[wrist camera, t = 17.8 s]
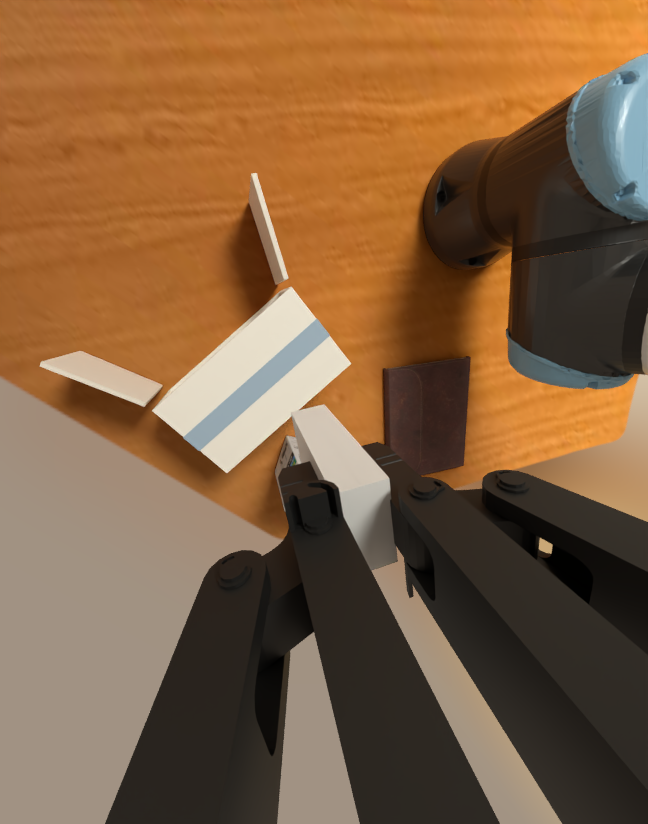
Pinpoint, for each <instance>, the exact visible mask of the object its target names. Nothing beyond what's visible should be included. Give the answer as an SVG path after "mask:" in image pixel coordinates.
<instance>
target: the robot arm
mask: <svg viewBox="0 0 648 824" xmlns="http://www.w3.org/2000/svg"><path fill="white" fill-rule="evenodd" d="M423 220H424V228H425V233H426V236H427V239H428V242H429V244H430V246H431V248H432V250H433V251H434V253H435V254H436V255H437V257H438V258H439V259H440V260H441V261H443V262H444V263H445V264H447V265H448V266H450V267H453V268H456V269H461V270H470V269H476V268H482V267H485V266H488V265H490V264H493V263H495V262H496V261H498V260H499V259H501V258H502V257H504V256H505V255H507V254H508V253H510V252H511V251H512V261H511V277H510V295H509V314H508V328H507V329H506V336H507V339H508V359H509V362H510V364H511V366H512V367H513V368H514V369H515V370H516V371H517V372H519V373H520V374H522V375H523V376H525V377H528V378H530V379H533V380H535V381H538V382H542V383H546V384H550V385H555V386H560V387H567V388H575V389H584V388H586V387H589V388H593V389H609V388H614V387H618V386H621V385H623V384H625V383H627V382H628V381H629V379H630V378H632V377H633V375H634V374H646V375H648V240H647V239H648V53H647V54H644V55H641V56H639V57H637V58H634V59H632V60H630V61H629V62H627V63H625V64H623V65H622V66H620V67H618V68H617V69H615V70H613V71H611V72H610V73H608V74H606V75H602V76H599V77H597V78H595V79H593V80H591V81H589V82H588V83H587V84H585V85H584V86H582V87H581V88H580V89H579V90H578V91H577V92H575V93H574V94H572V95H571V96H569V97H568V98H566V99H564V100H563V101H561V102H560V103H558V104H557V105H555V106H554V107H552V108H551V109H549V110H547V111H546V112H544V113H543V114H541V115H540V116H538V117H537V118H535V119H534V120H532V121H530V122H529V123H527V124H526V125H524V126H523V127H521V128H520V129H518V130H517V131H515V132H514V133H512V134H510V135H509V136H507V137H500V138H492V139H485V140H479V141H475V142H472V143H470V144H467V145H465V146H464V147H462V148H460V149H459V150H458V151H456V152H455V153H453V154H452V155H451V156H449V157H448V158H447V159H446V160H445V161H444V162H443V163H442V164H441V165H440V166H439V168H438V169H437V170H436V172H435V174H434V175H433V177H432V179H431V181H430V184H429V186H428V189H427V192H426V196H425V201H424V209H423ZM604 246H605V247H604ZM598 247H599V248H598ZM591 248H592V249H591ZM585 249H586V250H585ZM578 250H580V251H578ZM573 251H574V252H573ZM566 252H568V253H566ZM560 253H562V254H560ZM554 254H556V255H554ZM548 255H550V256H548ZM541 256H544V257H541ZM536 257H538V258H536ZM529 258H532V259H529ZM524 259H525V260H524ZM291 415H292V420H293V425H294V430H295V435H296V439H297V444H298V449H299V454H300V459H301V464H297V465H293V466H290V467H286V468H282V470H281V472H280V474H279V476H278V480H279V485H280V489H281V493H282V497H283V502H284V507H285V511H286V516H287V520H288V524H289V530H288V533H287V535H286V537H285V539H284V540H283V541H282V542H281V544H279V545H278V546H277V547H276V548H275V549H273V550H272V551H270V552H269V553H267V554H265V555H264V556H261V554H259V553H257V552H254V551H247V550H241V551H238V552H234V553H231V554H229V555H227V556H225V557H223V558H222V559H220V560H219V561H217V562H216V563H215V564H214V565H213V566H212V567H211V568H210V569H209V571H208V573H207V574H206V576H205V577H204V579H203V582H202V584H201V587H200V589H199V592H198V594H197V597H196V599H195V602H194V604H193V606H192V609H191V611H190V614H189V616H188V619H187V621H186V624H185V627H184V629H183V631H182V634H181V637H180V639H179V641H178V644H177V646H176V649H175V651H174V654H173V656H172V659H171V661H170V664H169V666H168V669H167V671H166V674H165V676H164V679H163V681H162V684H161V686H160V688H159V691H158V693H157V696H156V698H155V701H154V703H153V706H152V708H151V711H150V713H149V716H148V718H147V721H146V723H145V726H144V728H143V731H142V733H141V736H140V738H139V741H138V743H137V746H136V748H135V751H134V753H133V756H132V758H131V761H130V763H129V766H128V768H127V771H126V773H125V776H124V778H123V781H122V783H121V786H120V788H119V790H118V793H117V795H116V798H115V801H114V803H113V806H112V808H111V810H110V813H109V815H108V818H107V820H106V823H105V824H277V817H278V804H279V792H280V791H279V789H280V779H281V766H282V753H283V740H284V727H285V714H286V702H287V689H288V677H289V663H290V650H291V649H292V648H293V647H295V646H296V645H297V644H299V643H300V642H301V641H302V640H304V639H305V638H306V637H307V636H309V635H310V634H311V633H313V632H314V633H315V637H316V641H317V646H318V649H319V654H320V658H321V662H322V666H323V671H324V675H325V679H326V683H327V688H328V692H329V696H330V700H331V704H332V709H333V713H334V717H335V721H336V725H337V729H338V733H339V738H340V742H341V746H342V750H343V754H344V759H345V763H346V767H347V772H348V776H349V780H350V784H351V788H352V793H353V797H354V801H355V805H356V809H357V813H358V818H359V822H360V824H500V823H499V821H498V819H497V817H496V815H495V813H494V811H493V809H492V807H491V806H490V803H489V801H488V800H487V797H486V796H485V794H484V792H483V790H482V788H481V786H480V784H479V782H478V780H477V778H476V776H475V774H474V772H473V770H472V768H471V766H470V764H469V762H468V760H467V758H466V756H465V754H464V752H463V750H462V748H461V746H460V744H459V742H458V741H457V739H456V737H455V735H454V733H453V731H452V729H451V727H450V725H449V723H448V721H447V719H446V717H445V715H444V713H443V711H442V709H441V707H440V705H439V703H438V701H437V699H436V697H435V695H434V693H433V692H432V689H431V687H430V685H429V684H428V682H427V680H426V678H425V676H424V674H423V672H422V670H421V668H420V666H419V664H418V662H417V660H416V658H415V656H414V654H413V652H412V650H411V648H410V646H409V644H408V642H407V640H406V638H405V637H404V634H403V632H402V630H401V629H400V627H399V625H398V623H397V621H396V619H395V617H394V615H393V613H392V611H391V609H390V607H389V605H388V603H387V601H386V599H385V597H384V595H383V593H382V591H381V589H380V587H379V585H378V584H377V581H376V579H375V577H374V575H373V574H372V572H371V570H374V569H377V568H380V567H383V566H386V565H389V564H391V563H395V562H397V561H398V560H397V550H396V546H397V548H398V549H399V551H400V552H401V554H402V555H403V557H404V562H405V574H406V585H407V592H408V595H409V597H410V598H411V597H413V587H412V584H413V586H414V587H415V589H416V591H417V592H418V594H419V595H420V597H421V599H422V600H423V602H424V603H425V605H426V607H427V608H428V610H429V611H430V613H431V614H432V616H433V618H434V619H435V621H436V623H437V624H438V626H439V627H440V629H441V630H442V632H443V634H444V635H445V637H446V638H447V640H448V642H449V643H450V645H451V647H452V648H453V650H454V651H455V653H456V655H457V656H458V658H459V659H460V661H461V662H462V664H463V666H464V667H465V669H466V670H467V672H468V674H469V675H470V677H471V679H472V680H473V682H474V683H475V684H476V686H477V688H478V690H479V691H480V693H481V694H482V696H483V698H484V699H485V701H486V702H487V704H488V706H489V707H490V709H491V710H492V712H493V714H494V715H495V717H496V718H497V720H498V722H499V723H500V725H501V726H502V728H503V730H504V731H505V733H506V734H507V736H508V738H509V739H510V741H511V742H512V744H513V746H514V747H515V749H516V750H517V752H518V753H519V755H520V757H521V758H522V760H523V762H524V763H525V765H526V766H527V768H528V770H529V771H530V773H531V774H532V776H533V778H534V779H535V781H536V782H537V784H538V786H539V787H540V789H541V790H542V792H543V793H544V795H545V797H546V798H547V800H548V801H549V803H550V805H551V806H552V808H553V810H554V811H555V813H556V814H557V816H558V818H559V819H560V821H561V822H562V824H648V522H646V521H643V520H641V519H638V518H636V517H633V516H631V515H628V514H626V513H623V512H621V511H618V510H616V509H614V508H611V507H609V506H606V505H604V504H601V503H599V502H596V501H594V500H591V499H589V498H586V497H584V496H581V495H579V494H576V493H574V492H571V491H568V490H566V489H564V488H561V487H559V486H556V485H554V484H551V483H549V482H546V481H544V480H541V479H539V478H536V477H534V476H531V475H529V474H526V473H522V472H519V471H512V470H498V471H494V472H491V473H488V474H487V475H486V476H484V477H483V482H482V489H474V490H453V489H452V488H451V487H450V486H449V485H448V484H446V483H444V482H443V481H441V480H438V479H434V478H430V477H421V476H420V475H419V474H418V473H417V472H416V471H414V470H413V469H412V468H411V467H410V466H409V465H408V464H407V463H406V462H405V461H404V460H402V458H400V457H399V456H398V455H396V453H395V452H394V451H393V450H392V449H391V448H390V447H389V446H386V445H383V444H381V443H378V442H376V443H372V444H368V445H364V446H361V445H360V444H359V443H358V442H357V441H356V440H355V439H354V438H353V436H352V435H351V434H350V433H349V432H348V431H347V430H346V429H345V427H344V426H343V425H342V424H341V423H340V422H339V421H338V419H337V418H336V417H335V416H334V415H333V414H332V413H331V412H330V410H329V409H328V408H327V407H326V406H325V405H319V406H315V407H311V408H307V409H302V410H298V411H294V412H291ZM540 538H542V539H544V540H546V541H547V542H549V543H551V544H553V547H552V554H548V553H545V552H542V551H540V550H539V539H540Z"/></svg>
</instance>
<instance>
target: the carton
mask: <svg viewBox="0 0 648 824" xmlns="http://www.w3.org/2000/svg"><path fill="white" fill-rule="evenodd" d="M350 364H351V363H350V362H349V360H348V359H347V358H346V356H345V355H344V354H343V353H342V351H341V350H340V349H339V347H338V346H337V345H336V344H335V342H334V341H333V340H332V338H331V337H330V335H329V334H328V332H327V331H326V330H325V328H324V327H323V326H322V325H321V323H320V322H319V321H318V319H316V318H315V317H314V315H313V314H312V313H311V311H310V310H309V309H308V308H307V306H306V305H305V304H304V302H303V301H302V300H301V299H300V297H299V296H298V295H297V293H296V292H295V291H294V290H293V288H292V287H289V288H286V289H284V290H281V291H280V292H279V293H278V294H277V295H275V296H274V297H273V298H272V299H271V300H270V301H269V302H268V303H266V304H265V305H264V306H263V307H262V308H261V309H260V310H259V311H257V312H256V313H255V314H254V315H253V316H252V317H251V318H250V319H248V320H247V321H246V322H245V323H244V324H243V325H242V326H241V327H239V328H238V329H237V330H236V331H235V332H234V333H233V334H232V335H231V336H229V337H228V338H227V339H226V340H225V341H224V342H223V343H222V344H220V345H219V346H218V347H217V348H216V349H215V350H214V351H213V352H211V353H210V354H209V355H208V356H207V357H206V358H205V359H204V360H202V361H201V362H200V363H199V364H198V365H197V366H196V367H195V368H193V369H192V370H191V371H190V372H189V373H188V374H187V375H186V376H185V377H183V378H182V379H181V380H180V381H179V382H178V383H177V384H176V385H174V386H173V387H172V388H171V389H170V390H169V391H168V392H167V393H166V394H165V396H164V397H163V398H162V399H161V400H160V402H159V403H158V404H157V405H156V407H155V408H154V409H153V410H152V411H153V412H154V413H155V414H156V415H158V416H159V417H160V418H161V419H162V420H164V421H165V422H166V423H167V424H168V425H170V426H171V427H172V428H173V429H174V430H176V431H177V432H178V433H179V434H180V435H182V436H183V438H184V439H185V440H186V441H188V442H189V443H190V444H191V445H192V446H194V447H195V448H196V449H197V450H198V451H201V452H202V453H203V454H204V455H206V456H207V457H208V458H209V459H210V460H212V461H213V462H214V463H215V464H216V465H217V466H219V467H220V468H221V469H222V470H223V471H225V472H226V473H228V472H229V471H230V470H231V469H232V468H234V467H235V466H236V465H237V464H238V463H239V462H240V461H241V460H243V459H244V458H245V457H246V456H247V455H248V454H249V453H251V452H252V451H253V450H254V449H255V448H256V447H257V446H258V445H260V444H261V443H262V442H263V441H264V440H265V439H266V438H267V437H269V436H270V435H271V434H272V433H273V432H274V431H275V430H277V429H278V428H279V427H280V426H281V425H282V424H283V423H284V422H286V421H287V420H288V419H289V418H290V417H291V416H292V415H291V412H294V411H298V410H299V409H300V408H301V407H303V406H304V405H305V404H306V403H307V402H308V401H309V400H311V399H312V398H313V397H314V396H315V395H316V394H317V393H318V392H320V391H321V390H322V389H323V388H324V387H325V386H326V385H328V384H329V383H330V382H331V381H332V380H333V379H334V378H335V377H337V376H338V375H339V374H340V373H341V372H342V371H343V370H345V369H346V368H347V367H348V366H349V365H350Z"/></svg>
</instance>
